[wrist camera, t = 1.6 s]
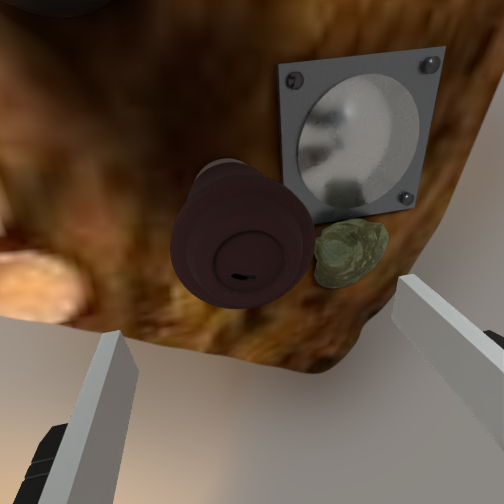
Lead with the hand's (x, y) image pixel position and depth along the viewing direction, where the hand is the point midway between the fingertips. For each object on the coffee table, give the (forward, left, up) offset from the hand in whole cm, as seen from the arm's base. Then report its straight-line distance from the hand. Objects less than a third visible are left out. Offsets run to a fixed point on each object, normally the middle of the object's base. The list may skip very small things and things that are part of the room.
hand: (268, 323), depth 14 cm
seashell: (+9, +13, -20) cm, 26 cm away
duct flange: (-3, +14, -20) cm, 25 cm away
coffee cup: (0, 0, -20) cm, 20 cm away
